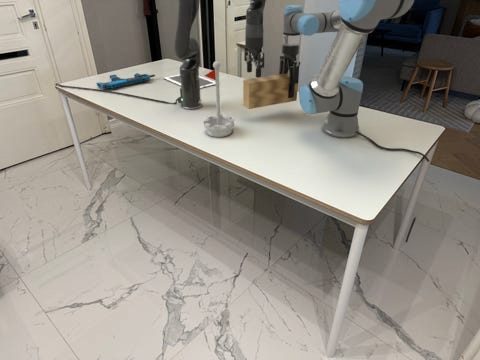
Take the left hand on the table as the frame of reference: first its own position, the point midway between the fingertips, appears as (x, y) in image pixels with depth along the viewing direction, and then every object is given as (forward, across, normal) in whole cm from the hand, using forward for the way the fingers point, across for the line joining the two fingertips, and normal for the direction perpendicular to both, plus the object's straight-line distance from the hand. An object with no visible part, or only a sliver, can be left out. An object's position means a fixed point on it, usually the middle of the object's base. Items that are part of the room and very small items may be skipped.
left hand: (253, 74), depth 149 cm
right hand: (+12, 0, +18) cm, 22 cm away
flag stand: (+21, +6, -20) cm, 29 cm away
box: (+14, 0, +9) cm, 17 cm away
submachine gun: (+21, -86, -45) cm, 99 cm away
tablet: (+21, -70, -8) cm, 73 cm away
